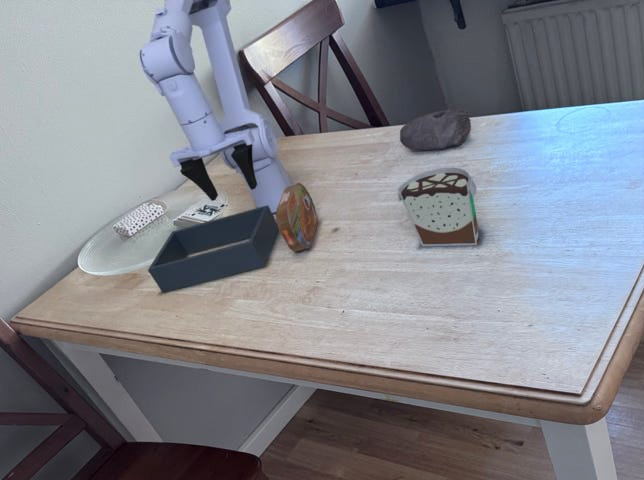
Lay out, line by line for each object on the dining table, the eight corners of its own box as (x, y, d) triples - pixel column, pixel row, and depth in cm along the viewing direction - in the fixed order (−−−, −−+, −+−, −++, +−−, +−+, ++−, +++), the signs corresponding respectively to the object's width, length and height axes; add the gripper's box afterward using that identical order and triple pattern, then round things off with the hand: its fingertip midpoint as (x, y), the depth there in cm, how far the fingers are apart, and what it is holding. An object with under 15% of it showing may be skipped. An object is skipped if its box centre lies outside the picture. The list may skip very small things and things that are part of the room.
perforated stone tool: (399, 157, 129) (388, 124, 125) (409, 145, 133) (399, 113, 128) (467, 150, 122) (458, 114, 118) (476, 137, 125) (468, 102, 121)
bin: (185, 253, 125) (172, 231, 122) (279, 228, 121) (268, 204, 117) (162, 292, 114) (147, 270, 111) (264, 266, 110) (251, 242, 107)
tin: (308, 257, 108) (287, 214, 103) (290, 261, 109) (269, 218, 104) (320, 215, 120) (302, 174, 114) (305, 219, 120) (286, 178, 115)
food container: (499, 222, 98) (485, 162, 92) (486, 244, 94) (470, 183, 88) (429, 224, 104) (411, 168, 98) (413, 246, 100) (394, 189, 94)
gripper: (148, 138, 102) (191, 213, 110) (230, 113, 99) (267, 192, 107) (163, 122, 107) (202, 195, 115) (240, 98, 104) (275, 174, 113)
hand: (234, 192), depth 112 cm, fingers open, 7 cm apart
